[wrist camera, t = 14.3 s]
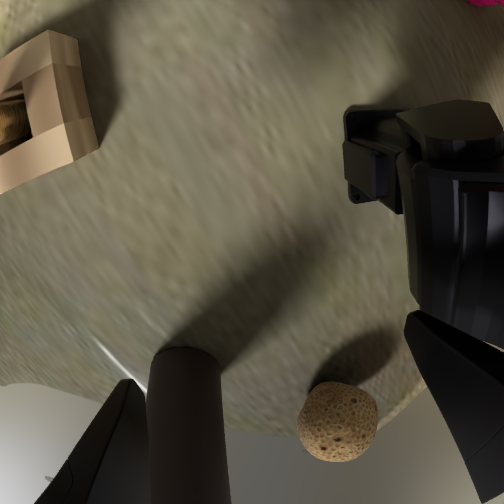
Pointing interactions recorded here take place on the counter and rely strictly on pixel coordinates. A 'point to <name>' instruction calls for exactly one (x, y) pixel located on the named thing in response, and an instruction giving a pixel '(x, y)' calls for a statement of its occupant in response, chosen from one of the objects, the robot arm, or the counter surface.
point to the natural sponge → (337, 421)
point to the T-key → (13, 121)
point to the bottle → (186, 430)
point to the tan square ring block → (46, 108)
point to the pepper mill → (486, 2)
